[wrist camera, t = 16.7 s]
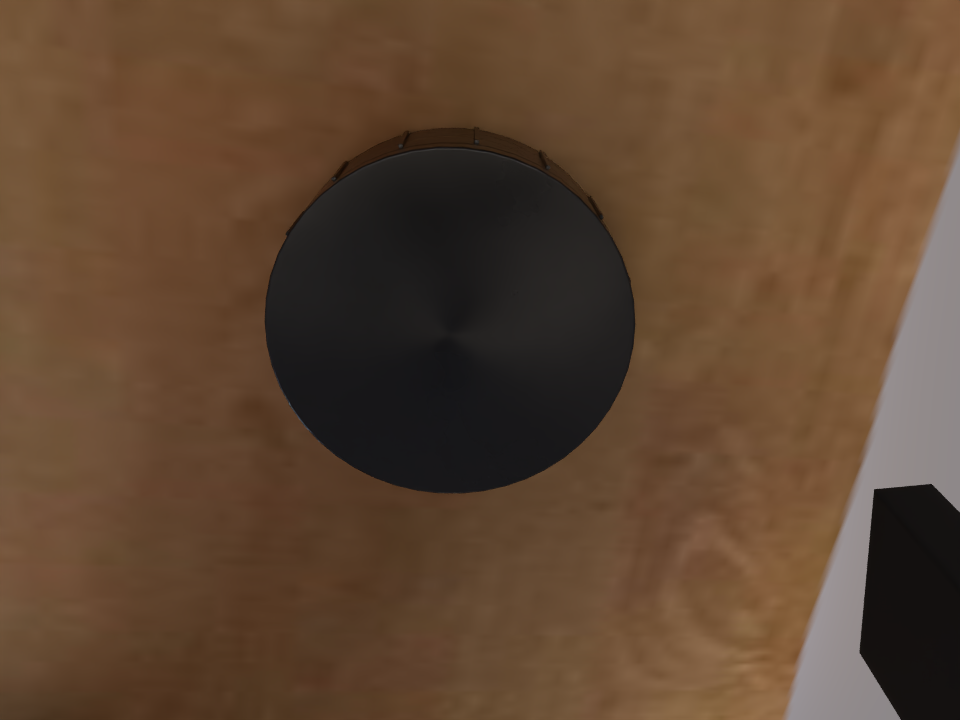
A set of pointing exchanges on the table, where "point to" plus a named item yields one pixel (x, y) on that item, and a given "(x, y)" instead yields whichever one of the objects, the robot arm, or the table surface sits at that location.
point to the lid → (450, 313)
